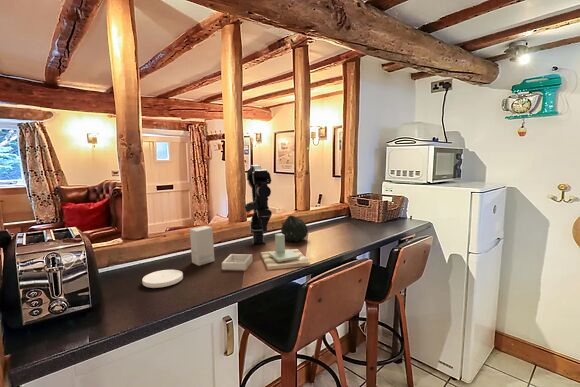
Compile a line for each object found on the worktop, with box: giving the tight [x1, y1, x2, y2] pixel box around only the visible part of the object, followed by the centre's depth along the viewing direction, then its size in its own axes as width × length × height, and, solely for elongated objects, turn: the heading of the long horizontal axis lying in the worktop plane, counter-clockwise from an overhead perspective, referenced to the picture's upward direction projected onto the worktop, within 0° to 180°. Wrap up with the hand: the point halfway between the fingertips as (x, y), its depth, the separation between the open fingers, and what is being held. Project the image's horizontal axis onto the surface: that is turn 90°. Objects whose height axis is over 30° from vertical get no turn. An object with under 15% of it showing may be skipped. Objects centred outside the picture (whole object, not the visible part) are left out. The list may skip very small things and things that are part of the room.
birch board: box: [260, 248, 311, 271], centre depth 138 cm, size 20×18×2 cm
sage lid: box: [267, 232, 300, 262], centre depth 137 cm, size 12×10×10 cm
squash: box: [280, 214, 309, 243], centre depth 172 cm, size 14×15×15 cm
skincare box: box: [189, 225, 216, 266], centre depth 137 cm, size 8×7×16 cm
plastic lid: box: [142, 269, 184, 289], centre depth 117 cm, size 14×14×2 cm
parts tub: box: [221, 253, 254, 271], centre depth 133 cm, size 12×10×3 cm
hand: (262, 227), depth 150 cm, fingers open, 9 cm apart
